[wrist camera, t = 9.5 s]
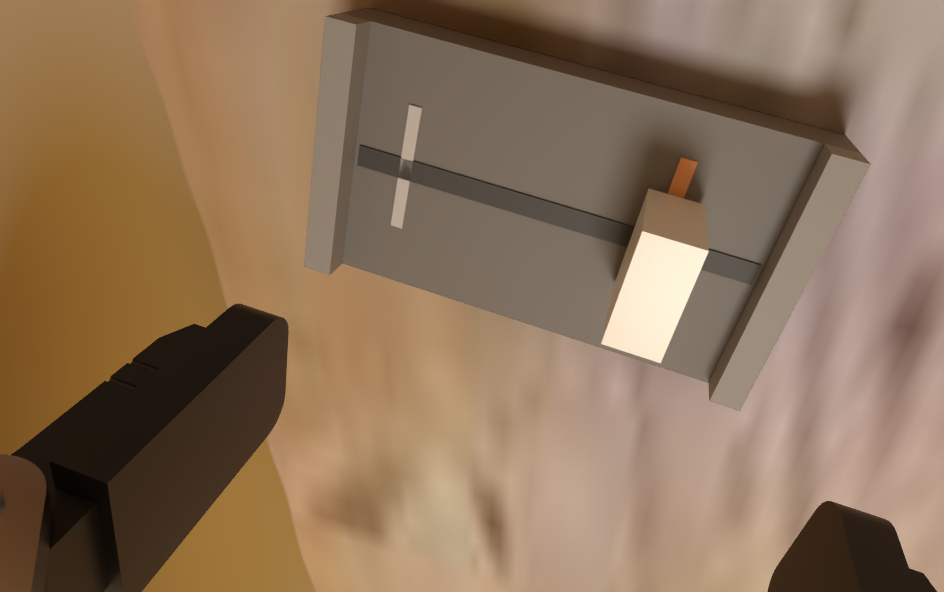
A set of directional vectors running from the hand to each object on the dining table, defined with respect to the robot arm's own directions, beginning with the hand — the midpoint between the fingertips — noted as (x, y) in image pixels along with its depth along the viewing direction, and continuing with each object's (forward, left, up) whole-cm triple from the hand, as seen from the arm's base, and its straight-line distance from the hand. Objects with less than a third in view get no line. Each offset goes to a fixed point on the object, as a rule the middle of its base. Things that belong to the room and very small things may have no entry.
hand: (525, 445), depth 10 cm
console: (+5, -2, -24) cm, 24 cm away
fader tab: (+5, +3, -20) cm, 21 cm away
